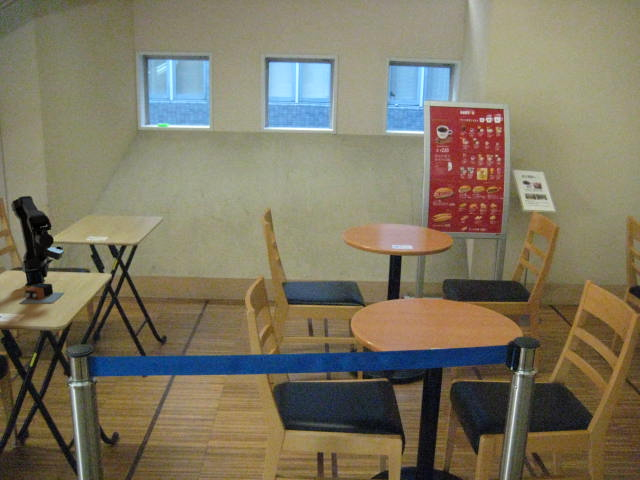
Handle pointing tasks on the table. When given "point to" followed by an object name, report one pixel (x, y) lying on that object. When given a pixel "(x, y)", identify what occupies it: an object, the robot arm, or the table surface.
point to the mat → (43, 299)
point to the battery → (38, 291)
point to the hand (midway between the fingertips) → (45, 277)
